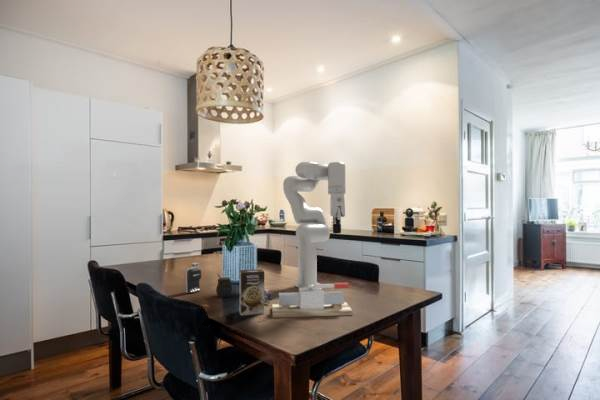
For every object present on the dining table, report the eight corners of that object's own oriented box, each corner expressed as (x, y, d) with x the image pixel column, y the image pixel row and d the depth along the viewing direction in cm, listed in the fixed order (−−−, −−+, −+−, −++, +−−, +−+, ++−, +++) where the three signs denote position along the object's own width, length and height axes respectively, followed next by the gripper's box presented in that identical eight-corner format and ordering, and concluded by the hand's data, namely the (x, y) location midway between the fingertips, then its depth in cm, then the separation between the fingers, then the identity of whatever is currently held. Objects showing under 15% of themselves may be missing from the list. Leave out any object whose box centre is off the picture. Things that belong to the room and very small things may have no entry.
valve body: (278, 305, 138) (278, 288, 138) (341, 304, 140) (341, 286, 141) (279, 311, 131) (279, 292, 131) (344, 309, 134) (344, 290, 134)
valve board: (272, 307, 141) (272, 300, 141) (345, 305, 143) (345, 298, 143) (272, 317, 129) (272, 309, 129) (352, 315, 131) (352, 306, 131)
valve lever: (347, 286, 138) (347, 282, 138) (348, 288, 135) (348, 284, 135) (307, 287, 137) (307, 283, 137) (308, 289, 134) (308, 284, 134)
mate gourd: (227, 298, 155) (226, 276, 155) (212, 297, 157) (212, 275, 158) (235, 294, 162) (234, 273, 162) (220, 293, 164) (220, 272, 164)
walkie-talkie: (244, 296, 160) (266, 306, 144) (244, 287, 160) (266, 296, 144) (261, 293, 165) (284, 303, 149) (261, 284, 165) (284, 292, 149)
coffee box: (240, 316, 131) (240, 272, 131) (238, 311, 137) (238, 269, 137) (264, 313, 133) (264, 271, 133) (261, 309, 139) (261, 268, 140)
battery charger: (190, 294, 162) (190, 269, 163) (185, 293, 165) (185, 269, 165) (202, 291, 168) (202, 267, 168) (197, 290, 170) (197, 266, 170)
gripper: (349, 190, 144) (349, 234, 144) (341, 191, 159) (342, 231, 159) (331, 190, 144) (331, 234, 144) (325, 191, 159) (325, 232, 158)
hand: (336, 233), depth 151 cm, fingers closed
